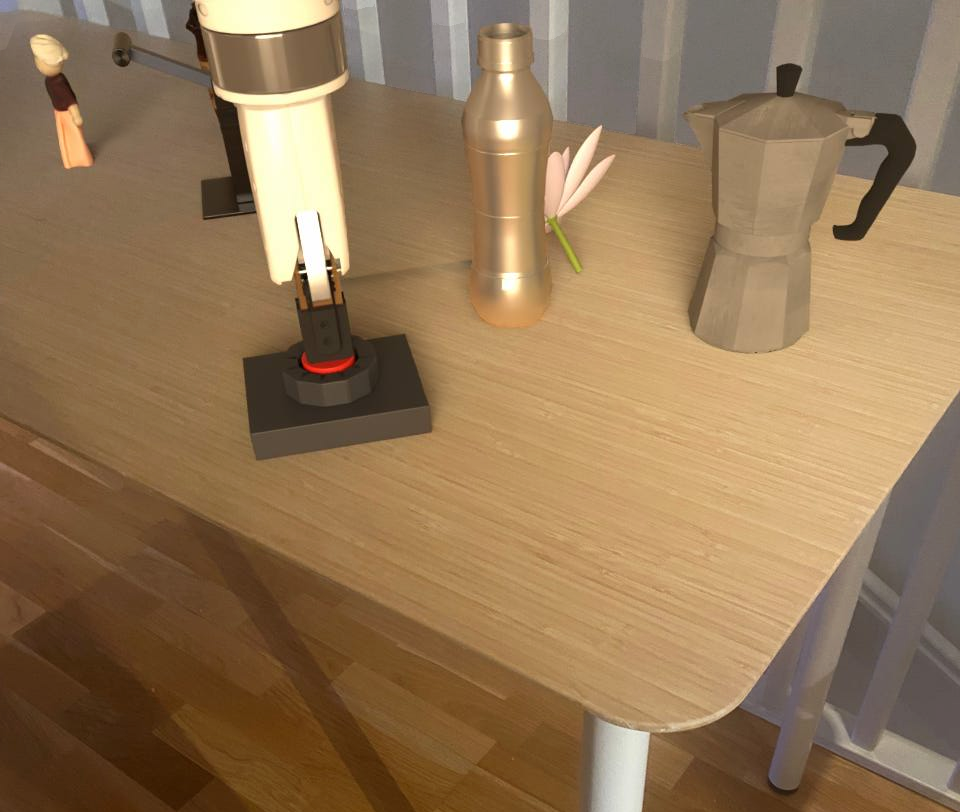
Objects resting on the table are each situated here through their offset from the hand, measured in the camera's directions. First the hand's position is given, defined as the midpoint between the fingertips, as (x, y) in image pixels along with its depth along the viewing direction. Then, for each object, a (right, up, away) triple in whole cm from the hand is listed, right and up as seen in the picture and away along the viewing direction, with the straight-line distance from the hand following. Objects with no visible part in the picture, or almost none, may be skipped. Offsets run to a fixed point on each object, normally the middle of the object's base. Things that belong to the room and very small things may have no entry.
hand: (329, 354), depth 67 cm
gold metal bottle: (+13, +6, +11) cm, 18 cm away
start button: (0, -1, +1) cm, 2 cm away
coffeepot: (+32, +4, +9) cm, 33 cm away
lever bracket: (-11, +23, +29) cm, 38 cm away
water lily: (+15, +14, +19) cm, 28 cm away
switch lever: (-16, +30, +20) cm, 39 cm away
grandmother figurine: (-31, +30, +37) cm, 57 cm away
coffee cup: (-15, +36, +41) cm, 56 cm away
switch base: (0, -3, +3) cm, 4 cm away
